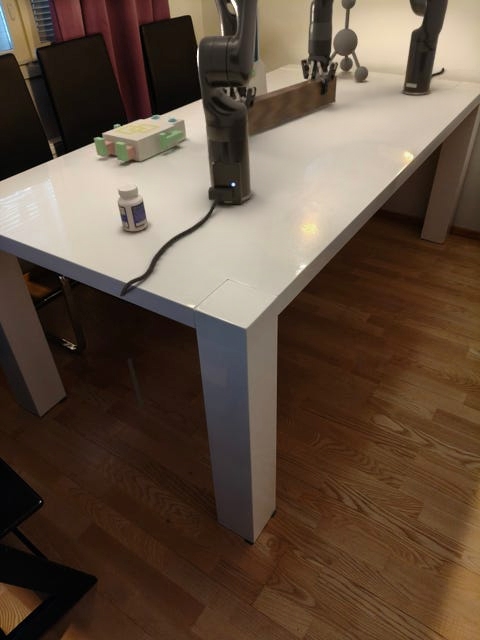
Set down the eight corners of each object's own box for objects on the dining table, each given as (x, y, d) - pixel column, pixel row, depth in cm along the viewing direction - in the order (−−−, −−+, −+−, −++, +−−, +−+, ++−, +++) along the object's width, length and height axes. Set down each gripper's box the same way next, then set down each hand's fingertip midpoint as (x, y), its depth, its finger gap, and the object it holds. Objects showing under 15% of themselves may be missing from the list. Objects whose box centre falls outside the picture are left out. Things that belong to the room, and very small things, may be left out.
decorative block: (146, 110, 155) (194, 118, 145) (149, 131, 159) (196, 140, 149) (83, 133, 139) (132, 144, 129) (88, 156, 143) (136, 168, 133)
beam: (226, 142, 143) (224, 112, 138) (215, 139, 146) (213, 109, 141) (335, 102, 173) (337, 75, 168) (325, 100, 175) (326, 74, 170)
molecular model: (302, 76, 212) (304, -7, 193) (348, 70, 216) (355, -11, 198) (326, 87, 194) (331, -3, 175) (375, 81, 198) (385, -8, 180)
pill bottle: (149, 220, 107) (142, 181, 102) (146, 231, 103) (138, 191, 98) (125, 221, 107) (116, 182, 102) (121, 232, 103) (112, 193, 98)
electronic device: (236, 100, 185) (231, 6, 166) (231, 95, 191) (226, 5, 172) (267, 96, 187) (266, 3, 169) (261, 92, 193) (260, 2, 174)
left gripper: (263, 58, 134) (264, 122, 144) (227, 53, 142) (230, 115, 153) (244, 63, 130) (246, 129, 140) (208, 58, 138) (213, 120, 148)
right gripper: (345, 37, 155) (341, 94, 166) (309, 34, 163) (308, 89, 174) (331, 40, 151) (328, 99, 161) (295, 37, 159) (294, 93, 170)
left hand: (238, 121), depth 146 cm, fingers closed on beam, 4 cm apart
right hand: (317, 93), depth 168 cm, fingers closed on beam, 4 cm apart
